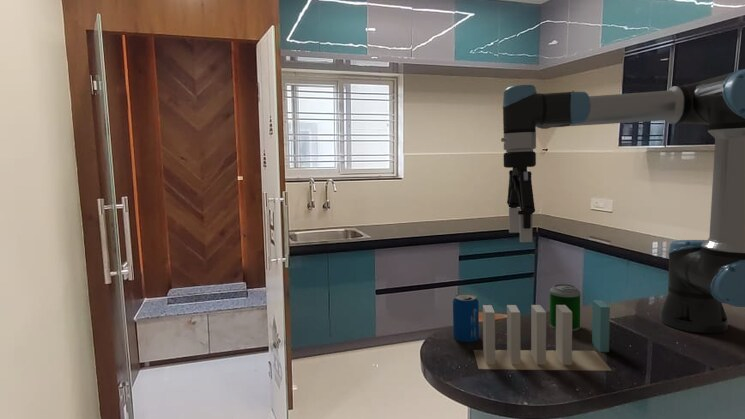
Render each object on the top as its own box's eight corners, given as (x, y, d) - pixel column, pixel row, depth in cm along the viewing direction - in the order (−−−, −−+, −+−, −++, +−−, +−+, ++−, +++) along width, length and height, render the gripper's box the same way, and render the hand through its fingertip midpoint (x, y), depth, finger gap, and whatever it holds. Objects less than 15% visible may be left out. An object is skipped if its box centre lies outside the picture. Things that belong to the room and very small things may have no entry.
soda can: (583, 336, 118) (583, 291, 117) (552, 334, 120) (552, 290, 118) (576, 325, 126) (576, 283, 124) (547, 324, 127) (547, 282, 126)
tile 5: (491, 354, 107) (491, 305, 105) (495, 364, 102) (494, 312, 100) (483, 354, 107) (482, 305, 106) (486, 363, 102) (485, 312, 101)
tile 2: (564, 355, 105) (565, 304, 104) (571, 364, 100) (572, 312, 99) (555, 354, 105) (556, 304, 104) (562, 364, 100) (562, 312, 99)
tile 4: (516, 354, 106) (515, 305, 105) (520, 364, 101) (520, 312, 100) (507, 354, 106) (506, 305, 105) (511, 364, 101) (510, 312, 100)
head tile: (600, 347, 111) (601, 300, 109) (608, 356, 106) (609, 307, 104) (592, 347, 111) (592, 300, 110) (599, 356, 106) (600, 307, 105)
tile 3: (540, 354, 106) (540, 304, 104) (546, 364, 101) (546, 312, 99) (531, 354, 106) (531, 304, 104) (536, 364, 101) (536, 312, 99)
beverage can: (464, 348, 114) (463, 302, 112) (448, 340, 119) (447, 295, 118) (484, 342, 116) (483, 297, 115) (468, 334, 122) (467, 291, 121)
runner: (594, 355, 107) (594, 350, 107) (612, 375, 97) (612, 370, 97) (473, 354, 110) (473, 349, 110) (478, 374, 100) (478, 368, 100)
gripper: (495, 152, 123) (496, 229, 125) (513, 151, 99) (514, 246, 101) (524, 151, 122) (524, 228, 125) (549, 149, 98) (549, 246, 100)
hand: (519, 237), depth 113 cm, fingers open, 13 cm apart
